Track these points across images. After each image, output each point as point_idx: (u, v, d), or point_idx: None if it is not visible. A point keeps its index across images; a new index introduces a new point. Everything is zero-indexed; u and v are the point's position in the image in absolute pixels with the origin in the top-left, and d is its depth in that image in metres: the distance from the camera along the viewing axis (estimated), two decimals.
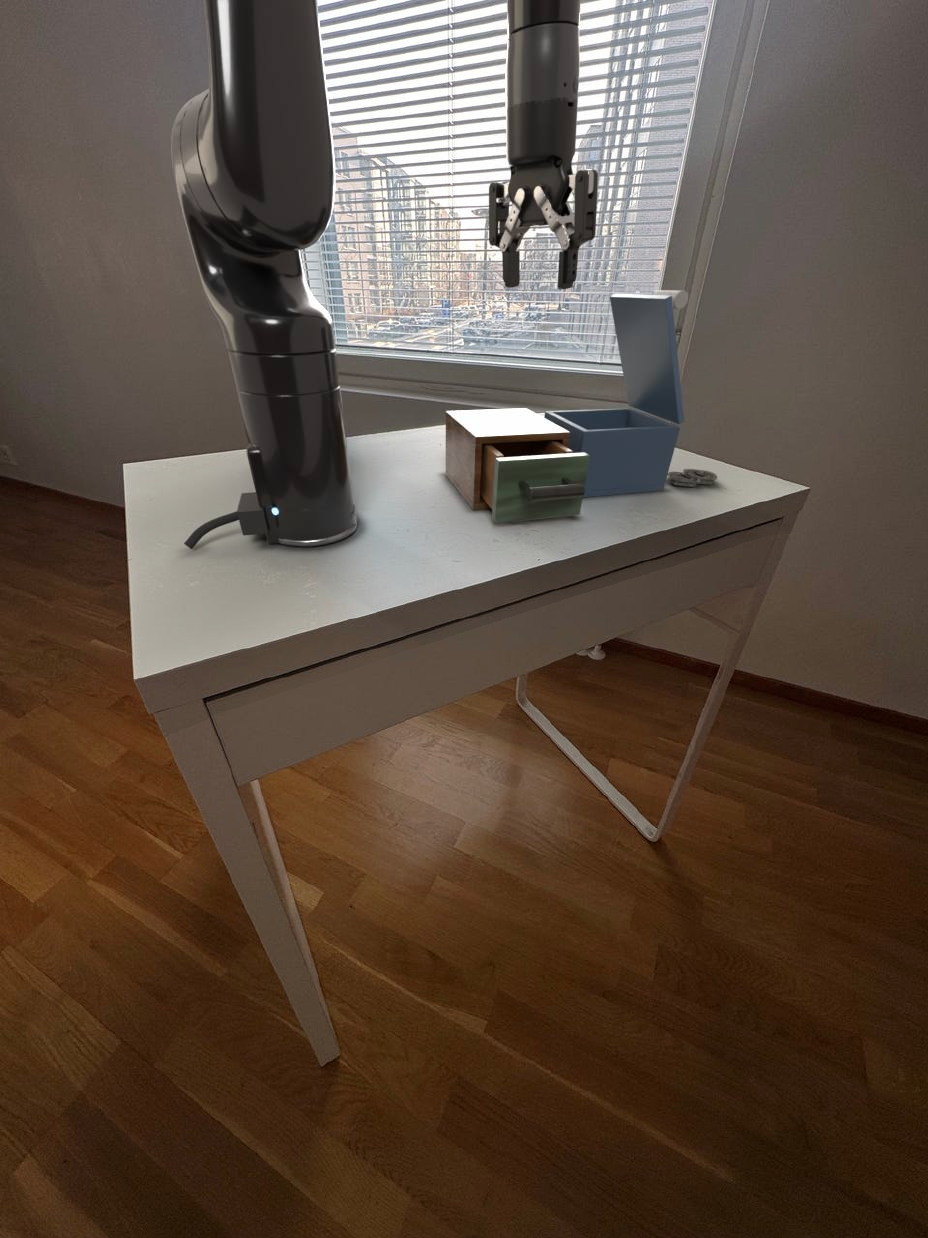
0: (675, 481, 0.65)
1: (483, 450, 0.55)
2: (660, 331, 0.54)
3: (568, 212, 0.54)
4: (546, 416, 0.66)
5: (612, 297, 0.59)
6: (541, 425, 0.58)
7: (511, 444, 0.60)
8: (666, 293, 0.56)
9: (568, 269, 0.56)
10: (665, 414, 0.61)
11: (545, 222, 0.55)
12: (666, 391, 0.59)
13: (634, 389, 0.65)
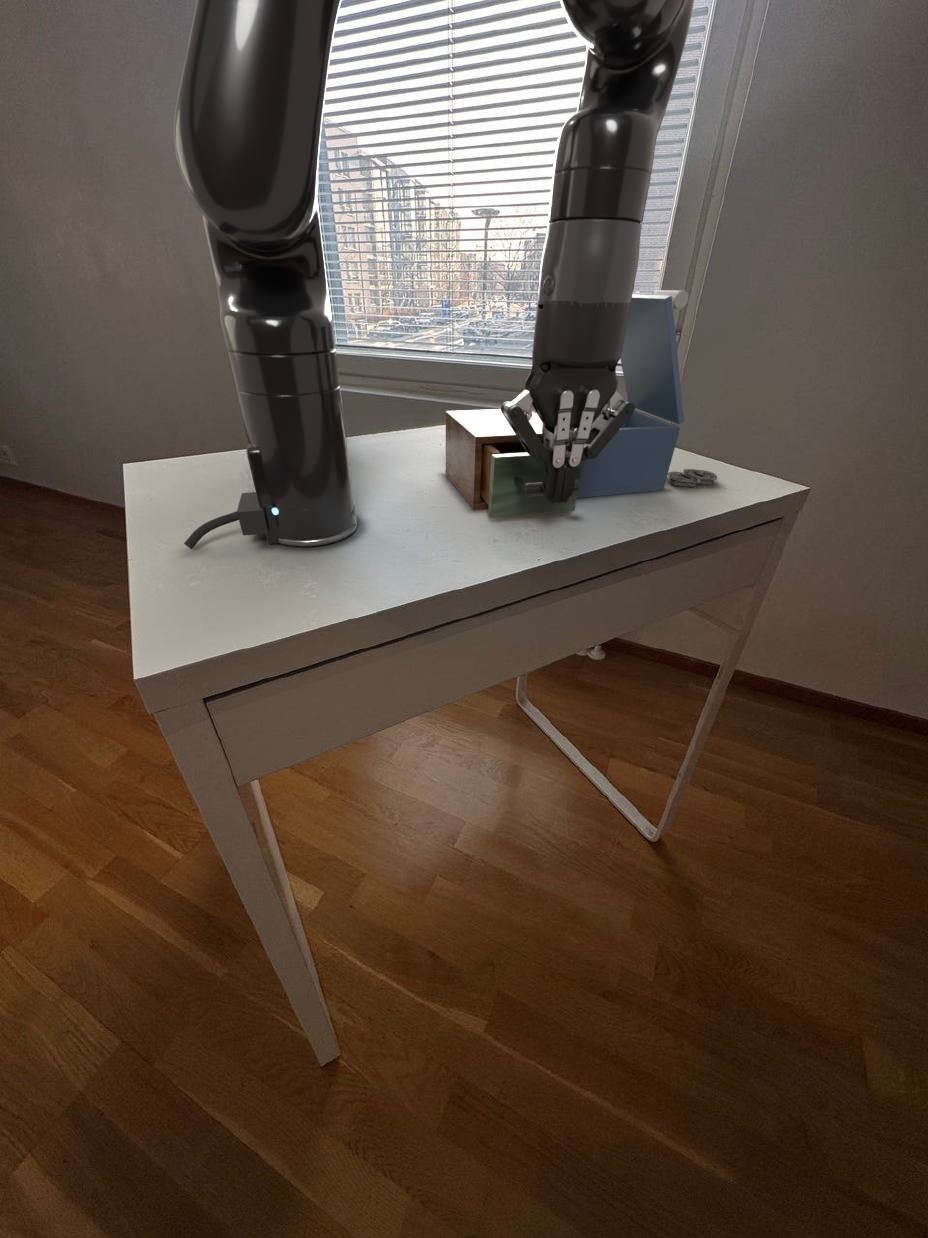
0: (675, 481, 0.65)
1: None
2: (660, 331, 0.54)
3: (557, 428, 0.43)
4: None
5: None
6: (541, 425, 0.58)
7: None
8: (666, 293, 0.56)
9: None
10: (665, 414, 0.61)
11: None
12: (666, 391, 0.59)
13: (634, 389, 0.65)
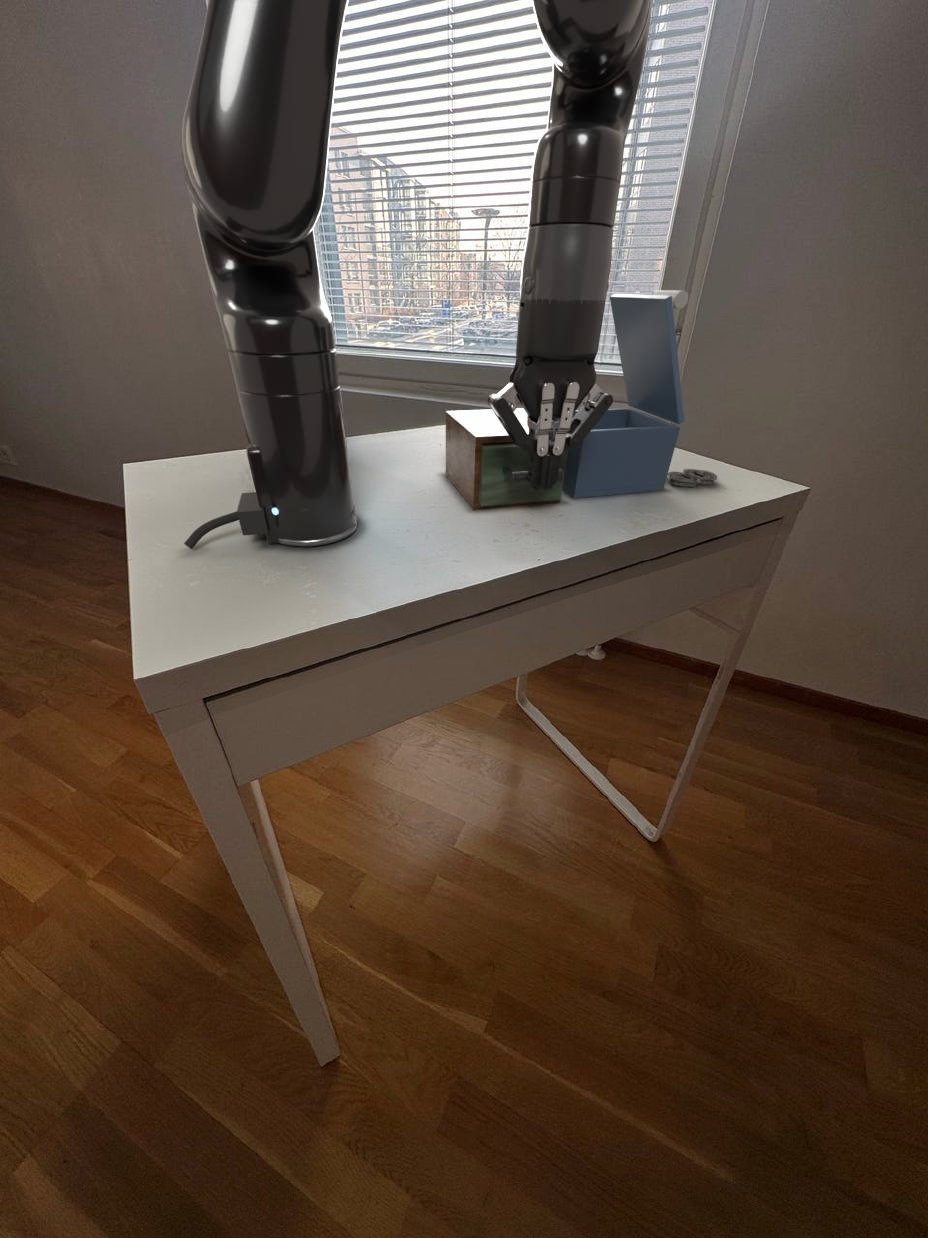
0: (675, 481, 0.65)
1: None
2: (660, 331, 0.54)
3: (540, 419, 0.46)
4: None
5: (612, 297, 0.59)
6: None
7: None
8: (666, 293, 0.56)
9: None
10: (665, 414, 0.61)
11: None
12: (666, 391, 0.59)
13: (634, 389, 0.65)
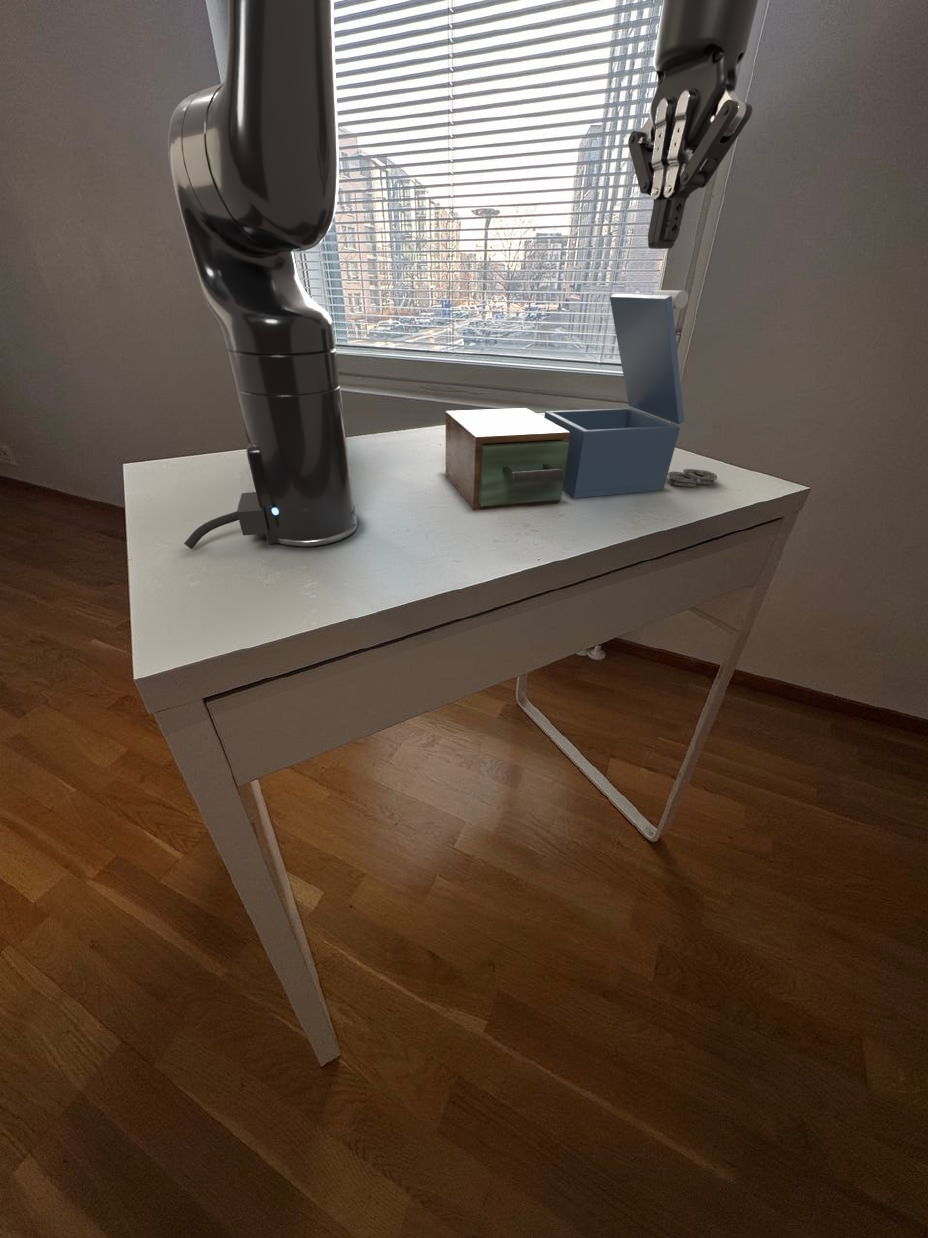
0: (675, 481, 0.65)
1: None
2: (660, 331, 0.54)
3: (659, 150, 0.45)
4: (546, 416, 0.66)
5: (612, 297, 0.59)
6: (541, 425, 0.58)
7: None
8: (666, 293, 0.56)
9: None
10: (665, 414, 0.61)
11: None
12: (666, 391, 0.59)
13: (634, 389, 0.65)
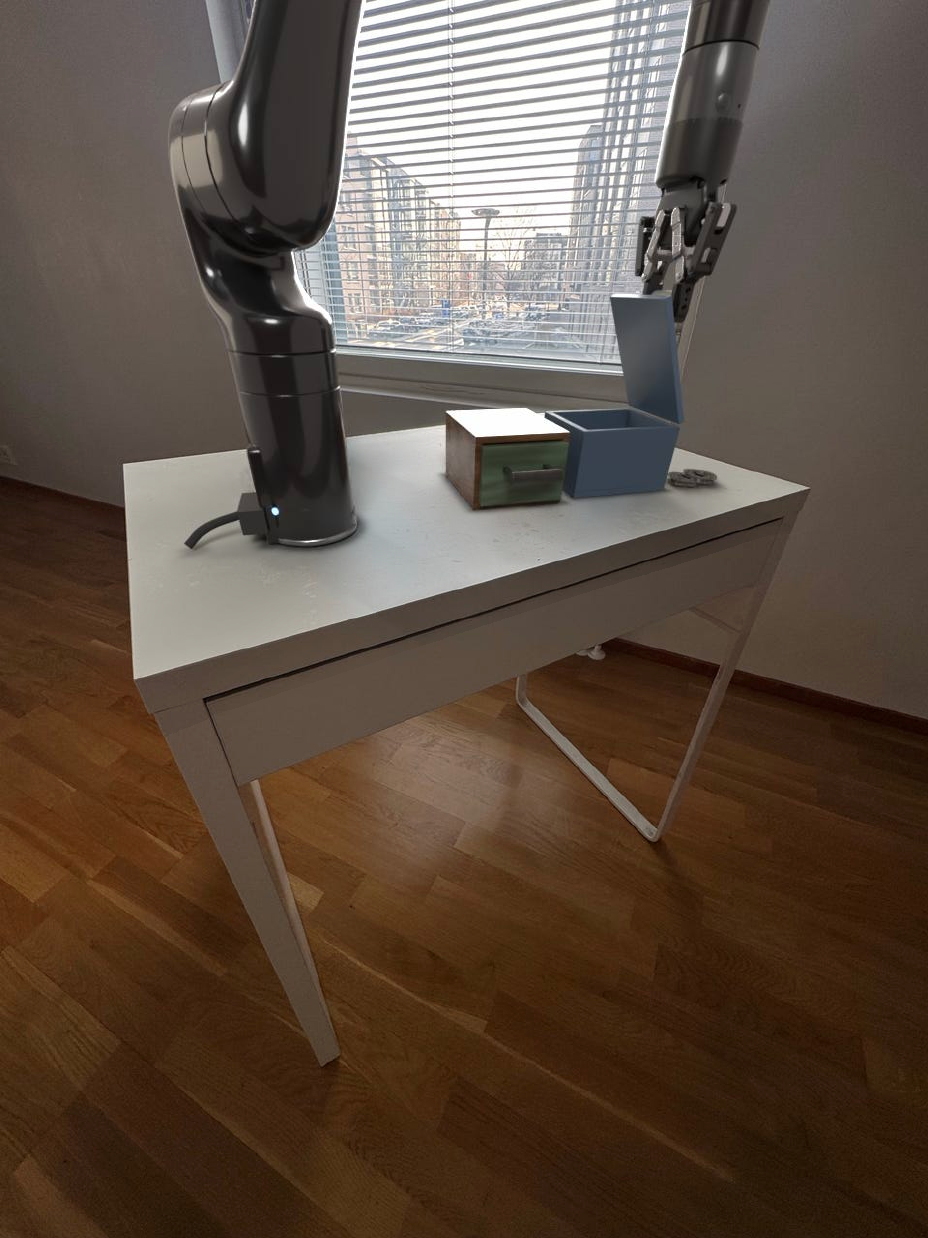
0: (675, 481, 0.65)
1: None
2: (660, 331, 0.54)
3: None
4: (546, 416, 0.66)
5: (612, 297, 0.59)
6: (541, 425, 0.58)
7: None
8: (666, 293, 0.56)
9: None
10: (665, 414, 0.61)
11: None
12: (666, 391, 0.59)
13: (634, 389, 0.65)
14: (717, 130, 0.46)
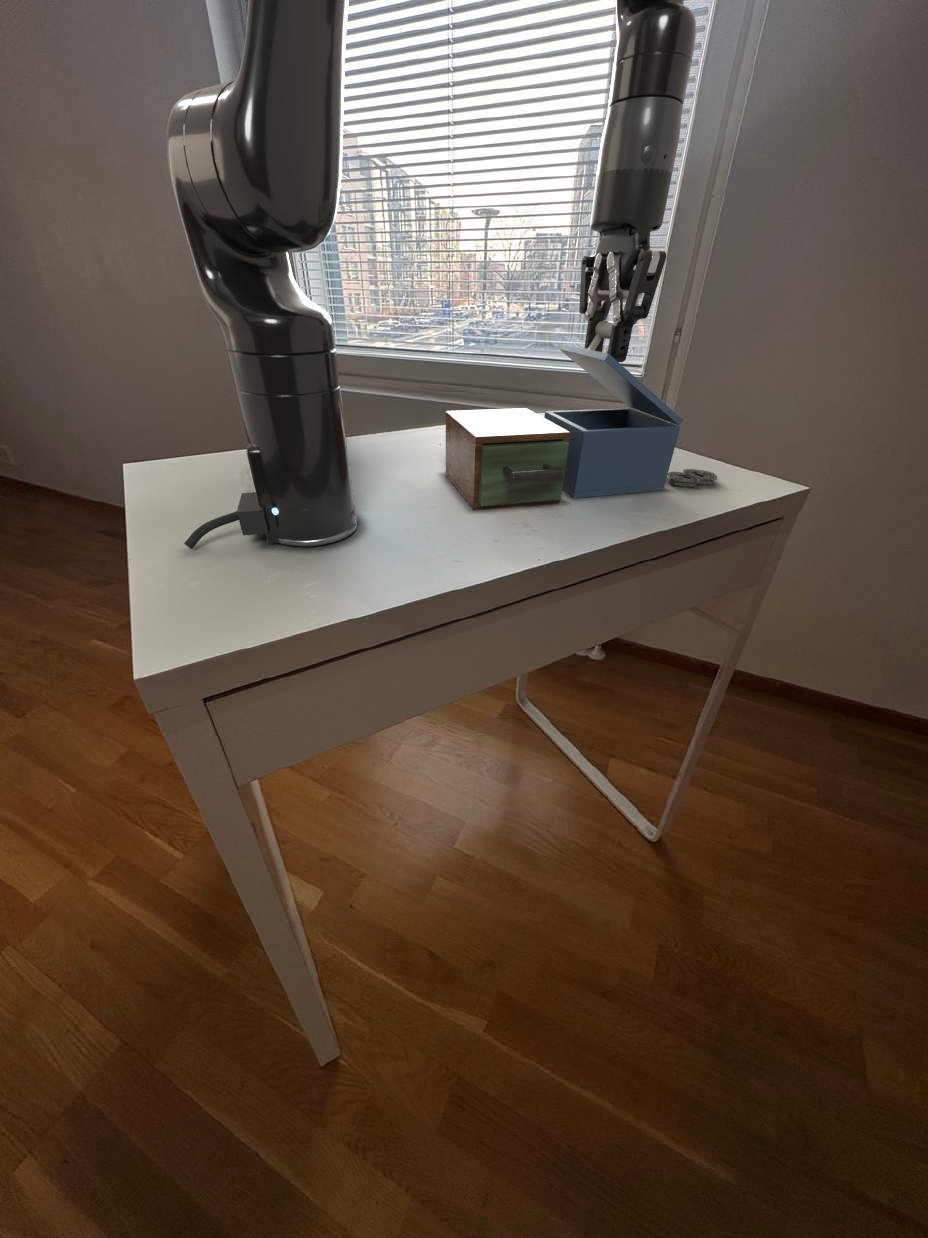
0: (675, 481, 0.65)
1: None
2: (616, 375, 0.56)
3: None
4: (546, 416, 0.66)
5: (562, 350, 0.61)
6: (541, 425, 0.58)
7: None
8: (607, 330, 0.56)
9: None
10: (663, 418, 0.62)
11: None
12: (652, 406, 0.59)
13: (625, 399, 0.66)
14: (644, 180, 0.46)
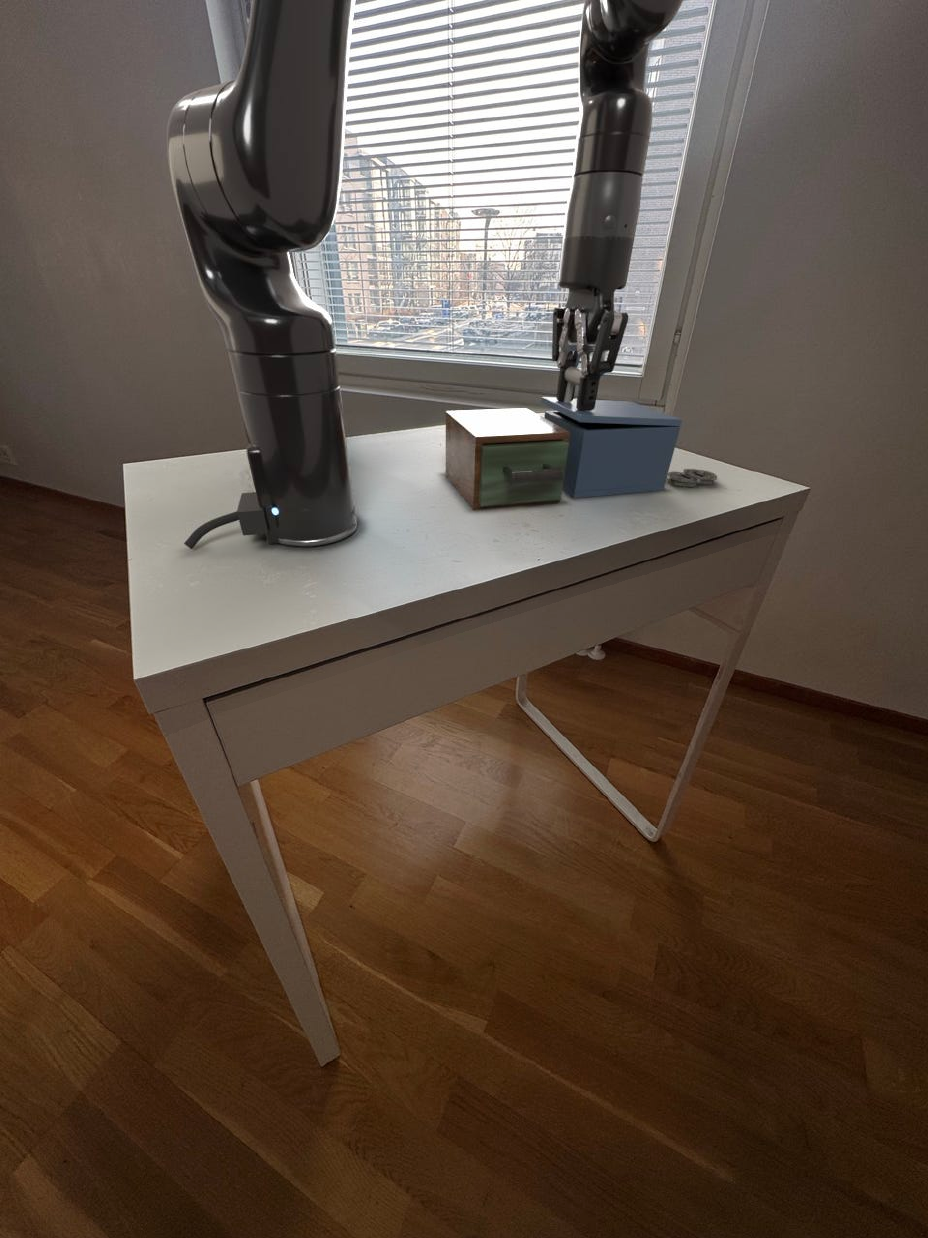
0: (675, 481, 0.65)
1: None
2: None
3: None
4: (546, 416, 0.66)
5: (543, 403, 0.65)
6: (541, 425, 0.58)
7: None
8: (575, 381, 0.58)
9: None
10: None
11: None
12: None
13: None
14: (606, 247, 0.48)
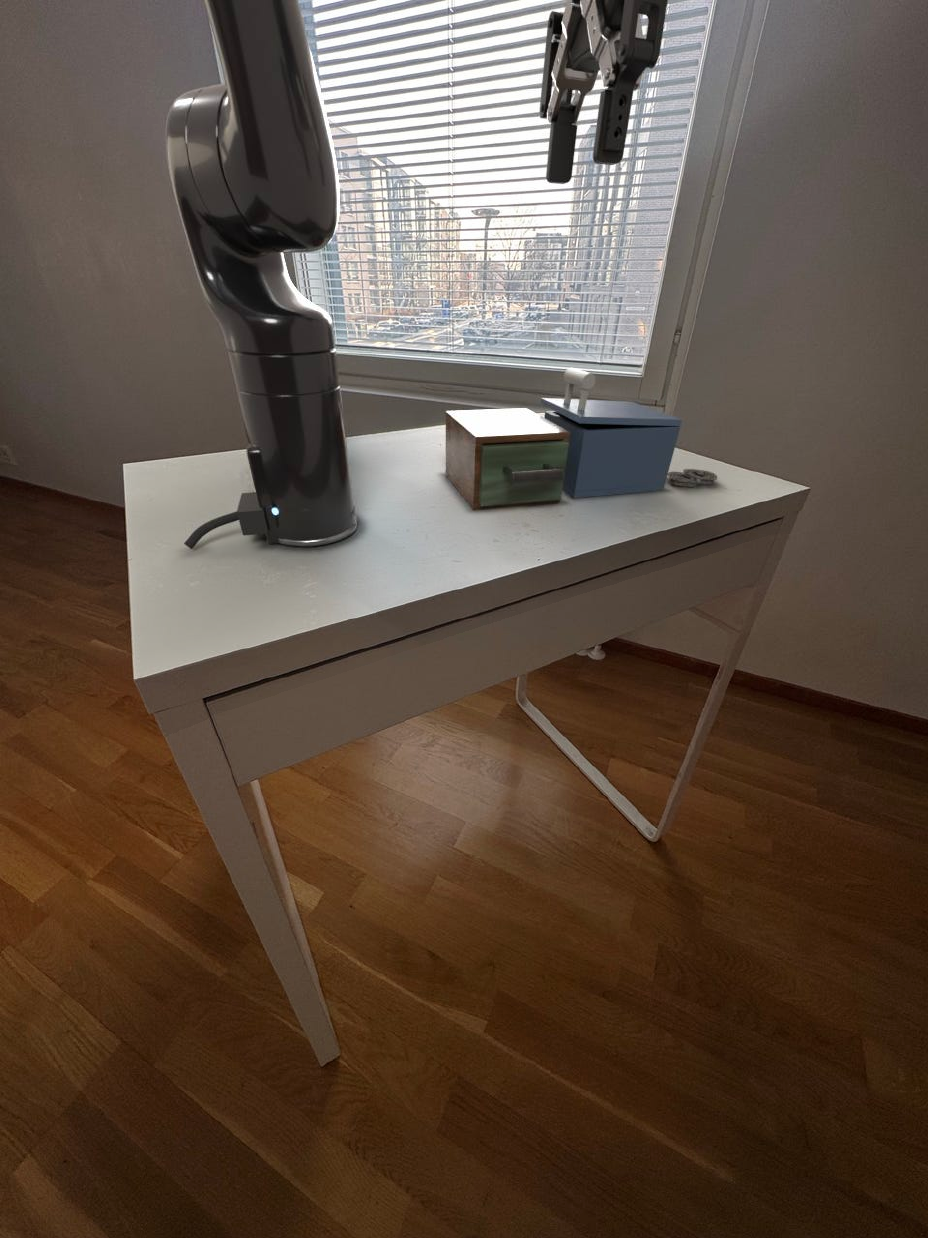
0: (675, 481, 0.65)
1: None
2: None
3: None
4: (546, 416, 0.66)
5: (543, 404, 0.65)
6: (541, 425, 0.58)
7: None
8: (574, 382, 0.59)
9: None
10: None
11: None
12: None
13: None
14: None
